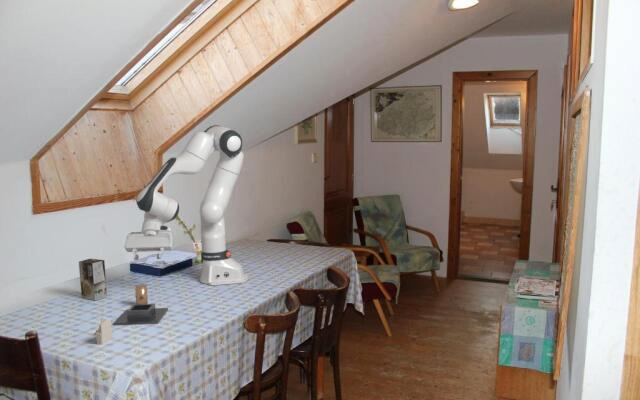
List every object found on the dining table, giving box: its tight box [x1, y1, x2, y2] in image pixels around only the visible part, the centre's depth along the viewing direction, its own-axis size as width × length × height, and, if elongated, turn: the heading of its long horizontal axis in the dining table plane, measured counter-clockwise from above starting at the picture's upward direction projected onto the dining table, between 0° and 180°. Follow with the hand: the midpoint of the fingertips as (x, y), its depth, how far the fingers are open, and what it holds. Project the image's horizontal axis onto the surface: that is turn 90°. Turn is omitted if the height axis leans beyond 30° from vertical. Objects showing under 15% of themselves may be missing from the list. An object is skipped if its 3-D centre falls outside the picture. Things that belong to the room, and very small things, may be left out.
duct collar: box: [112, 303, 169, 326], centre depth 211 cm, size 16×16×4 cm
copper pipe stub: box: [134, 284, 149, 305], centre depth 225 cm, size 4×4×8 cm
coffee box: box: [78, 258, 108, 301], centre depth 238 cm, size 9×6×16 cm
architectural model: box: [92, 318, 114, 346], centre depth 188 cm, size 3×7×7 cm, turn 167°
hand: (147, 258), depth 235 cm, fingers open, 8 cm apart
